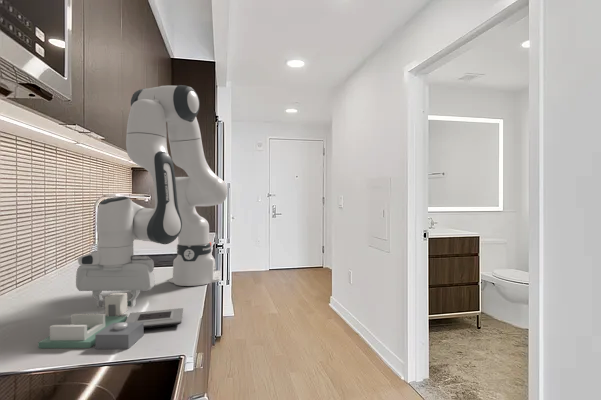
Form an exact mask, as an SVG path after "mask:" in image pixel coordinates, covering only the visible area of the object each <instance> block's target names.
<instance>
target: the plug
mask: <svg viewBox="0 0 601 400" xmlns="http://www.w3.org/2000/svg"><path fill="white" fill-rule="evenodd" d="M104 299H105V306H104V308H105V310H104V314H105V316H122V315H123V314H125V313H126V312H127V311H128V306H127V305H128V303H127V301H128V293H127V292H112V293H110V294H108V295H106V296H105V297H104Z"/></svg>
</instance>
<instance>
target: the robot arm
mask: <svg viewBox="0 0 601 400" xmlns="http://www.w3.org/2000/svg"><path fill="white" fill-rule="evenodd" d="M200 107H201V106H200V98H199V95H198V93H197V92H196V90H195V89H194V88H193V87H191V86H188V85H185V84H183V85H182V84H178V85H160V86H154V87H149V88H141V89H138V90H136V91H135V92H133V94H132V95H131V98H130V110H129V113H128V117H127V124H126V137H125V146H126V147H125V149H126V152H127V154H126V155H128V157H129V159H130V160H131V161H132V162H133V163H134V164H135V165H137V166H138V167H141V168H143V169H145V170H146V171H147V172H148V173H149V174H150V176H151V177H152V178H151V179H152V181H153V194H154V208H149V207H146V206H142V205H140V204H138V203H136V202H134V201H133V200H131V198H130V197H129V196H117V197H116V196H115V197H110V198H106V199H104V200H102V201H101V202H99V205H98V209H97V212H96V213H97V214H96V232H97V234H98V240H97V245H96V250H95V251H92V252H90V253H88V254H85V255H81V256H79V257H78V259H77V263H78V265H79V266H78V267H77V270H76V273H75V288H76V289H77V290H78V291H79V292H91V293H92V296H93V298H94V299H95V301H96V307H97V308H105V298H103V296H102V294H101V293H103V292H119V291H120V292H121V291H122V292H126V291H127V292H130V295H132V296H131V298H130V299H127V308H133V307H135V306H136V304H137V303H136V301H137V298H138V297H139V294H140V293H141V291H142V292H145V291H150V290H152V289H153V288H154V286H155V284H156V280H155V272H154V269H155V262H154V259H152V257H150V256H148V255H143V256H142V255H141V256H140V255H135V254H134V241H142V242H152V243H154V244H155V243H156V244H161V245H169V244H172V243H173V242H174V241H175V240H176V239H177V240H178V242H177V245H176V254H177V256H176V257H175V258H174V259H173V263H172V277H170V278H169V279H168V282H169V283H171V284H174V285H176V286H183V287H184V286H185V287H193V286H194V287H195V286H203V285H207V284H211V283H218V282H219V283H220V282H221V278H222V277H221V276H222V271H221V270H217V268H216V259H215V258H214V256H213V255H212V242H211V241H210V224H209V222H208V221H209V220H207V219H206V218H205V217H203V216H201V215H200V214H199V213H198V212H197V209H196V207H213V206H218V205H221V204H223V203H224V202H225V201H226V199H227V196H228V187H227V184H226V182H225V181H224V180H223V179H222V178H221V177H219V176H218V175H217V174H216V173H214V171H213V170H212V169H211V168H210V166H209V164H208V162H207V160H206V156H205V153H204V147H203V142H202V134H201V129H200V124H199V122H198V119H197V116H198V114H199V112H200ZM167 139H168V143H167ZM167 144H169V149H170V154H169V151H168V145H167ZM174 165H175V166H176V167H178V168H181V169H182V170H183V171H184V172H185V173H186V175H187V176H176V172H175V166H174Z"/></svg>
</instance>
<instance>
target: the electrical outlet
mask: <svg viewBox="0 0 601 400" xmlns="http://www.w3.org/2000/svg"><path fill="white" fill-rule="evenodd" d="M183 314H184V307H180V308H170V309H158V310H150V311H149V310H148V311H147V310H146V311H136V312H130V313H129V315H127V320H126V321H125V323H133V322H143V327H144V329H150V328H151V329H152V328H159V327H170V326H179V325H181V324H182V321H183Z"/></svg>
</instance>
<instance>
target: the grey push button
mask: <svg viewBox="0 0 601 400" xmlns="http://www.w3.org/2000/svg"><path fill="white" fill-rule="evenodd" d="M144 329H145V328H144V327H143V322H133V323H125V322H122V323H112V324H110V325H109V326H107V327H106V328H105V329H103V330H102V331H100V332H99V333H97V334H96V335H95V349H96V350H102V349H103V350H106V349H107V350H108V349H109V350H112V349H113V350H119V349H120V350H125V349H127V350H129V349H130V348H131V347H132V346H133V345H135V344H136V343H137V342H138V341H139V340H140V339H142V337H144V335H145V334H144V331H145V330H144Z"/></svg>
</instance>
